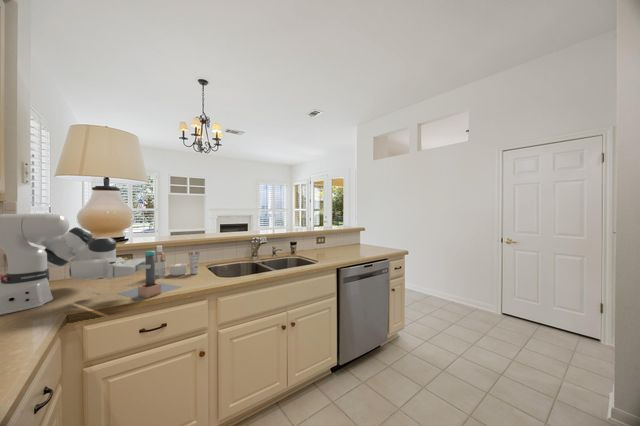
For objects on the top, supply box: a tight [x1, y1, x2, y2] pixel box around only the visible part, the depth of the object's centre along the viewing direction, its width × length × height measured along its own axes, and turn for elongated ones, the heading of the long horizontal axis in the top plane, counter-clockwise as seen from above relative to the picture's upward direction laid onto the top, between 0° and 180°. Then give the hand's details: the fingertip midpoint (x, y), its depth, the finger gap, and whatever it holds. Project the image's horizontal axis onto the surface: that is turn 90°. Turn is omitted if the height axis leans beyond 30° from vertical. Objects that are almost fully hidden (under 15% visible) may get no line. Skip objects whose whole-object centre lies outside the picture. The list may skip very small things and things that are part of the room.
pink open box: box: [137, 282, 162, 299], centre depth 117 cm, size 7×7×4 cm
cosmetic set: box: [155, 245, 201, 278], centre depth 153 cm, size 25×9×19 cm, turn 115°
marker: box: [144, 250, 156, 287], centre depth 117 cm, size 4×4×16 cm
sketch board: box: [117, 281, 182, 301], centre depth 123 cm, size 20×19×1 cm
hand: (152, 265), depth 117 cm, fingers closed on marker, 4 cm apart
